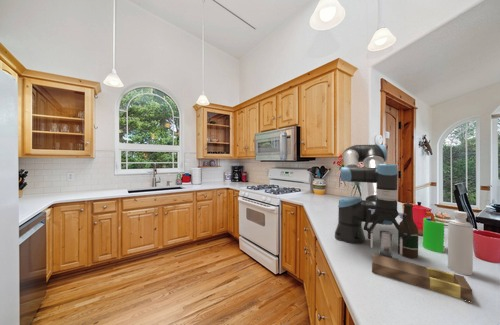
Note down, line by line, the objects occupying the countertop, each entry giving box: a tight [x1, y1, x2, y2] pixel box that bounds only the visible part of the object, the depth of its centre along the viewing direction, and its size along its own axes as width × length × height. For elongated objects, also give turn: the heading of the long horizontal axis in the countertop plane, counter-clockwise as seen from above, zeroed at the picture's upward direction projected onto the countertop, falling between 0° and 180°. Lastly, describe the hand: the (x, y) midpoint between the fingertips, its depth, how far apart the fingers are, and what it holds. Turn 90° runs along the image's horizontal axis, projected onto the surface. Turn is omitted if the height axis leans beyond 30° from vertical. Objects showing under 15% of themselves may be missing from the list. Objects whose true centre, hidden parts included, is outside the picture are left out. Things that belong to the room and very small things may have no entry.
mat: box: [373, 252, 400, 260], centre depth 84 cm, size 9×9×1 cm
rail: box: [371, 253, 473, 303], centre depth 70 cm, size 26×9×4 cm, turn 53°
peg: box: [379, 229, 393, 258], centre depth 84 cm, size 4×4×12 cm
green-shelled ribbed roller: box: [422, 211, 446, 254], centre depth 97 cm, size 9×8×18 cm
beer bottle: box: [397, 202, 419, 260], centre depth 89 cm, size 8×8×24 cm
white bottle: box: [447, 210, 474, 276], centre depth 77 cm, size 7×7×25 cm
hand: (385, 249), depth 84 cm, fingers open, 10 cm apart
